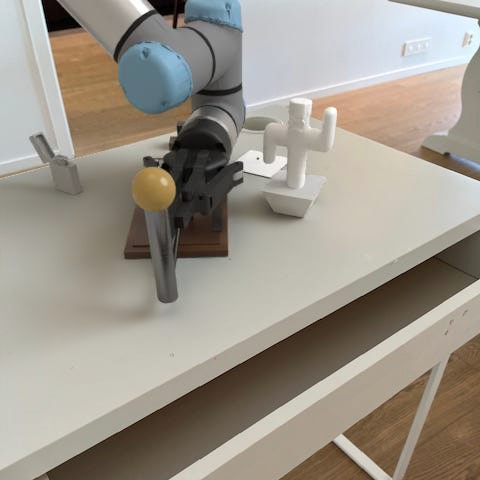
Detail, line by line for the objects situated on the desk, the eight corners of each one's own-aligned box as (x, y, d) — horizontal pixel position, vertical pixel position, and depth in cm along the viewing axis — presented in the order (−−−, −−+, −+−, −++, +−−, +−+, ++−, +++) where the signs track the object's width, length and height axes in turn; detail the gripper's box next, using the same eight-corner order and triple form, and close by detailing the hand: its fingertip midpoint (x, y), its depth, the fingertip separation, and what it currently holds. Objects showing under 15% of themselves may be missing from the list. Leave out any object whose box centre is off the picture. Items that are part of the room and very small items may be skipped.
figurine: (271, 191, 77) (274, 86, 67) (332, 202, 74) (345, 94, 65) (253, 213, 72) (254, 104, 62) (318, 226, 69) (329, 113, 60)
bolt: (175, 148, 85) (166, 50, 76) (199, 148, 86) (193, 50, 76) (147, 312, 53) (125, 179, 44) (185, 311, 54) (171, 178, 44)
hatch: (148, 163, 85) (145, 140, 82) (226, 162, 85) (226, 138, 83) (124, 258, 64) (119, 231, 61) (228, 256, 64) (227, 228, 62)
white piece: (270, 177, 80) (270, 172, 80) (226, 167, 83) (226, 162, 83) (292, 158, 86) (292, 154, 85) (250, 149, 89) (250, 145, 88)
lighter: (82, 190, 78) (71, 138, 73) (74, 195, 77) (61, 143, 72) (50, 180, 81) (36, 129, 76) (41, 184, 80) (27, 133, 75)
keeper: (170, 142, 92) (168, 120, 89) (209, 142, 92) (208, 119, 89) (169, 150, 89) (167, 127, 87) (209, 149, 89) (208, 126, 87)
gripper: (252, 174, 71) (224, 273, 53) (161, 169, 72) (104, 264, 55) (252, 119, 66) (221, 209, 48) (154, 115, 67) (90, 201, 50)
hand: (159, 238), depth 52 cm, fingers closed
